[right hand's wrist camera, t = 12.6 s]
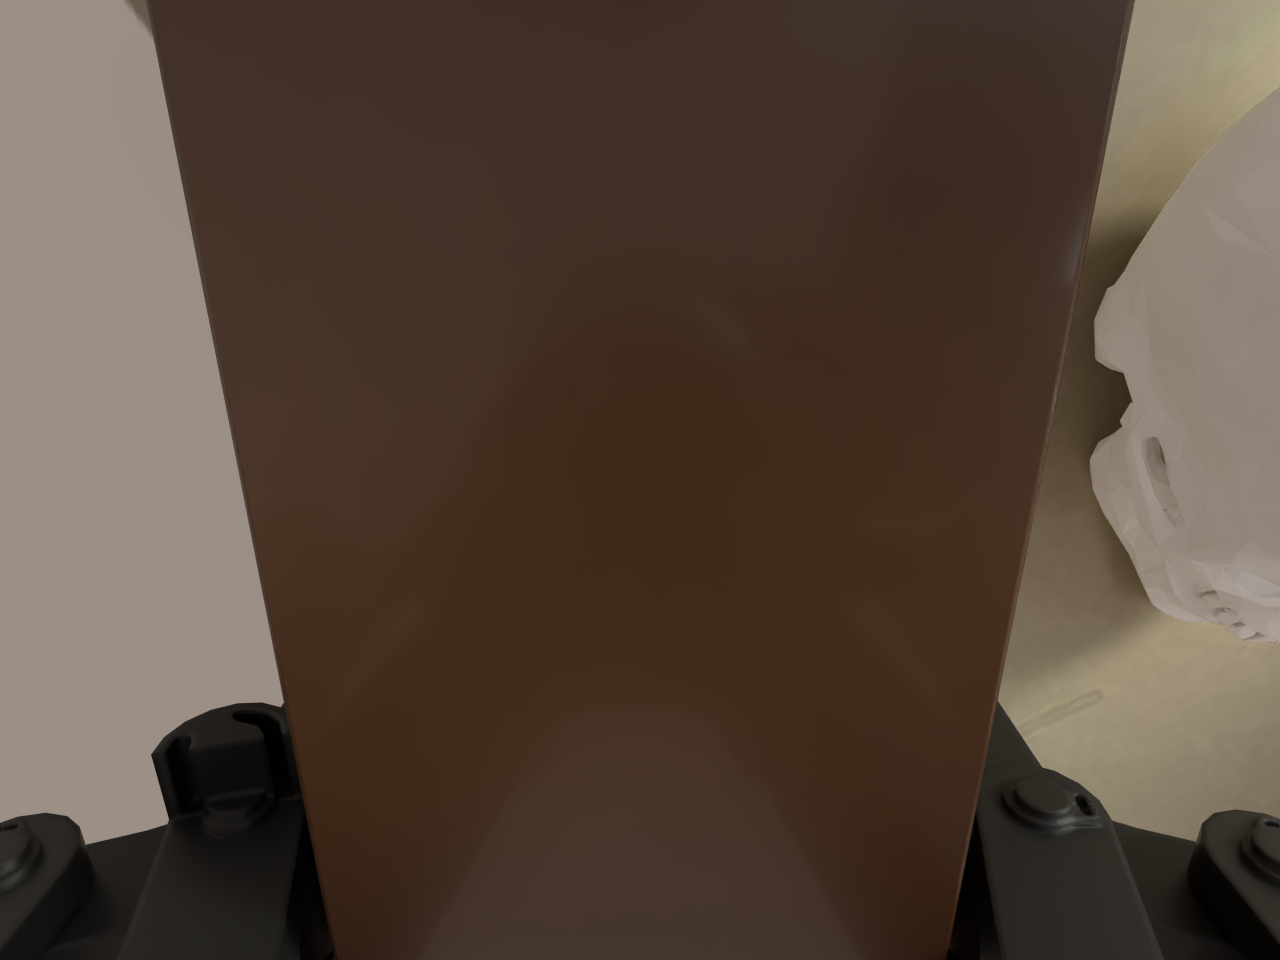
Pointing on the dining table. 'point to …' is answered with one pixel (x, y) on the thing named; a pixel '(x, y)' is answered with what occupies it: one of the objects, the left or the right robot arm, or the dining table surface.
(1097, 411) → the dining table surface
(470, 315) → the walnut box
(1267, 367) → the skull
